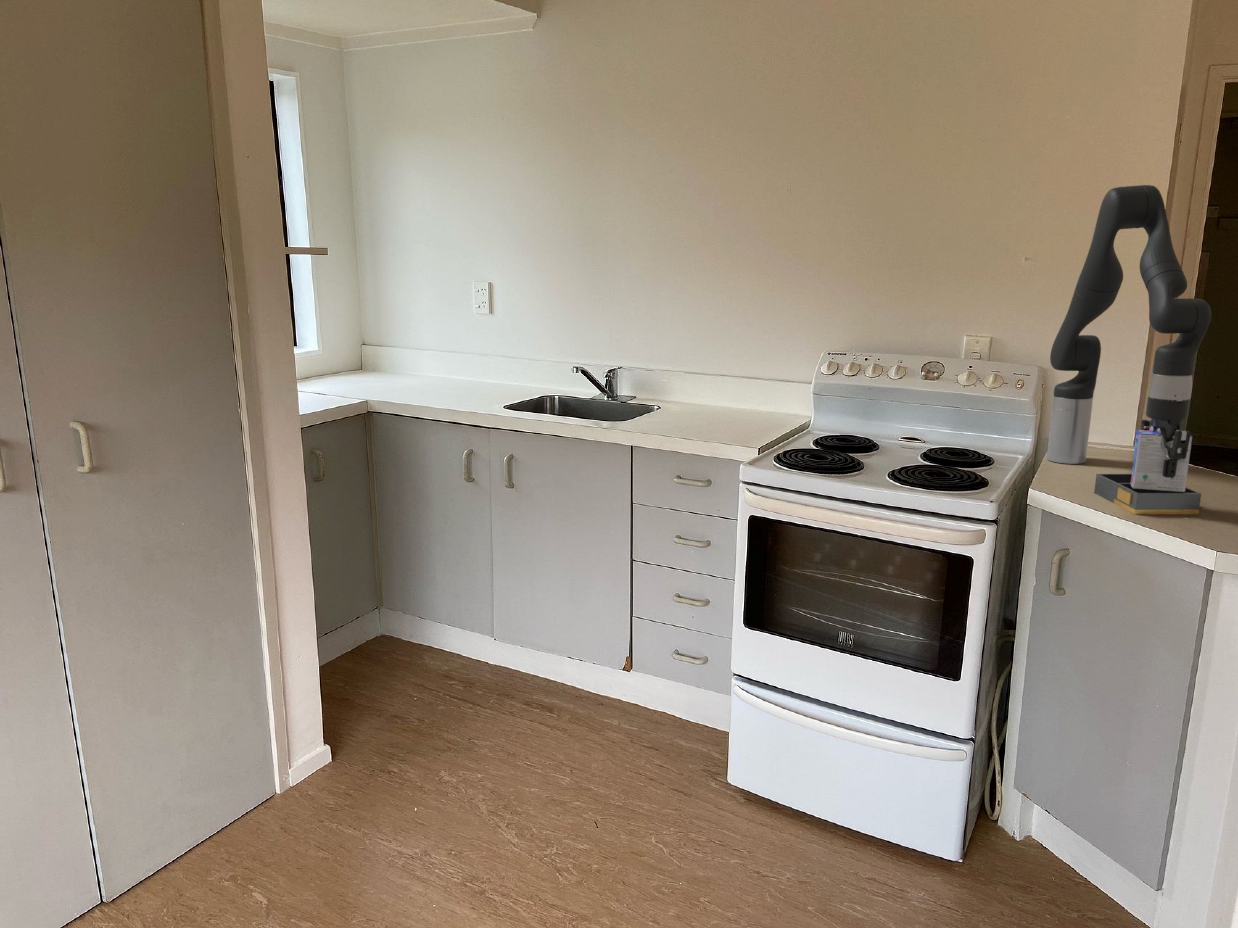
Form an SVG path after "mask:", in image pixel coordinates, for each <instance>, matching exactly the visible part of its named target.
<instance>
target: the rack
mask: <svg viewBox="0 0 1238 928" xmlns="http://www.w3.org/2000/svg"><path fill="white" fill-rule="evenodd" d="M1131 477H1132V473H1096V475H1095V484H1094V491H1093V494H1096V495H1097V496H1099V497H1101V498H1103V499H1105V500H1107V501H1109V502H1111V503H1113V504H1114V505H1117V506H1119V507H1120V508H1122V509H1124V510H1126V511H1127V512H1130V513H1132V514H1133V515H1199V512H1200V504H1201V497H1202V493H1201V492H1199V491H1197V490H1194V489H1192V488H1189V487H1187V486H1186V489H1185V492H1177V491H1162V490H1147V489H1134V488H1132V486H1131V484H1130V483H1131Z"/></svg>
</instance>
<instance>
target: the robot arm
mask: <svg viewBox="0 0 1238 928" xmlns="http://www.w3.org/2000/svg"><path fill="white" fill-rule="evenodd" d="M1141 228H1142V229H1144V230H1145V233H1146V234H1147V237H1148V239H1147V243H1146V245H1145V247H1144V249H1143V251H1142V254H1141V257H1140V260H1139V273H1140V276H1141V278H1142V279H1141V280H1142V281H1143V284H1144V285H1145V289H1146V291H1147V294H1148V319H1149V324H1150V326H1151V327H1152V329H1153V330H1155V332H1158V333H1160V334H1179V335H1178V337H1177V338H1176V340H1175V341H1173V342H1172V343H1168V344H1164V345H1161V346H1159V347H1157V348H1156V350H1155V353H1154V359H1153V366H1152V373H1151V379H1150V382H1149V386H1148V393H1147V401H1146V402H1147V403H1146V409H1145V416H1146V417H1147V418H1149V419H1142V420H1141V422H1140V430H1149V431H1152V432H1153V431H1156V430H1157V433H1158V434H1160V435H1161V442H1160V445H1161V449H1162V450H1164V454H1165V459H1166V460H1164V467H1163V476H1164V477H1166V478H1173V477H1175V474H1176V467H1177V461H1178V460H1180V459H1185V458H1186V455H1187V450H1188V444H1189V439H1190V434H1191V431H1190V430H1183V429H1182V421H1185V420H1187V419H1188V418H1189V413H1190V405H1191V398H1192V390H1193V372H1194V367H1195V366H1194V365H1195V360H1196V359H1195V358H1196V354H1197V352H1198V350H1199V348H1200V345H1201V344H1202V341H1203V339H1204V338H1205V335H1206V332H1207V330H1208V329H1209V325H1210V324H1211V319H1212V310H1211V307H1210V305H1209V303H1208V302H1207V301H1206V300H1204V299H1201V298H1179V297H1180V296H1182V295H1183V294H1184V293H1185V292H1186V290H1187V289H1188V280H1187V277H1186V275H1185V274H1184V271H1183V268H1182V267H1181V264H1180V262H1179V260H1178V257H1177V255H1176V252H1175V248H1174V244H1173V242H1172V235H1171V232H1170V231H1171V230H1170V225H1169V220H1168V215H1167V211H1166V207H1165V201H1164V198H1163V196H1162V194H1161V191H1160V190H1159V188H1158V187H1156V186H1155V185H1153V184H1152V185H1151V184H1140V185H1130V186H1117V187H1114V188H1113V187H1112V188H1110V189H1109V190H1107V193H1106V194H1105V195H1104V196H1103V199H1102V201H1101V205H1100V207H1099V211H1098V215H1097V218H1096V223H1095V227H1094V231H1093V235H1092V239H1091V242H1090V243H1091V244H1090V245H1089V249H1088V251H1087V255H1086V257H1085V258H1086V259H1085V261H1084V263H1083V266H1082V269H1081V271H1080V273H1079V277H1078V280H1077V282H1076V285H1075V288H1074V291H1073V295H1072V298H1071V301H1070V304H1069V306H1068V310H1067V312H1066V314H1065V315H1066V316H1065V317H1064V320H1063V322H1062V324H1061V326H1060V328H1059V331H1058V333H1057V334H1056V336H1055V338H1054V341H1053V343H1052V346H1051V350H1050V357H1049V360H1050V361H1049V362H1050V365H1051V367H1052V368H1053V369H1054V370H1055V371H1056V370H1057V371H1061V372H1062V371H1064V372H1065V371H1066V372H1078V373H1077V374H1076V375H1075V376H1074V377H1072V378H1071V379H1069V380H1066V381H1062V382H1060V383H1057V384H1056V385H1055V386H1054V388H1053V396H1052V404H1051V405H1052V407H1051V415H1050V417H1051V418H1050V424H1049V425H1050V426H1049V434H1048V443H1047V444H1048V445H1047V455H1046V456H1047V457H1046V459H1047V460H1048V461H1050V462H1054V463H1059V464H1070V465H1071V464H1072V465H1074V464H1076V465H1077V464H1084V463H1085V464H1086V462H1087V453H1088V446H1089V436H1090V427H1091V420H1092V419H1091V418H1092V410H1093V409H1092V408H1093V402H1094V401H1093V400H1094V394H1095V388H1096V384H1097V378H1098V371H1099V365H1100V362H1101V354H1102V345H1101V340H1100V338H1099V337H1098V336H1096V335H1092V334H1091V335H1089V334H1085V335H1084V334H1083V335H1082V334H1081V333H1082V331H1083V330H1084V329H1085V328H1086V327H1087V326H1088V325H1089V324H1091V323H1092V322H1093V321H1095V320H1097V318H1098V317H1100V316H1101V315H1102V314H1103V313H1105V312H1106V311H1108V310H1109V308H1110V307H1111V306H1112V305H1113V304H1114V302H1115V300H1116V298H1117V296H1118V294H1119V291H1120V289H1121V287H1122V283H1123V281H1124V272H1123V271H1124V270H1123V267H1122V264H1121V263H1120V260H1119V258H1118V256H1117V253H1116V250H1115V247H1114V245H1115V239H1116V236H1117V234H1118V232H1119V231H1120V230H1129V229H1131V230H1132V229H1141ZM1154 420H1156V424H1157V425H1156V426H1154ZM1191 435H1192V434H1191ZM1170 441H1173V445H1168V444H1167V443H1166V442H1170ZM1179 448H1182V449H1181V453H1180V451H1179ZM1170 449H1172V450H1171V454H1170Z"/></svg>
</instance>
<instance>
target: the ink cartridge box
mask: <svg viewBox="0 0 1238 928" xmlns="http://www.w3.org/2000/svg"><path fill="white" fill-rule="evenodd" d="M1156 425H1157V424H1156V420H1154V426H1156ZM1134 440H1135V441H1134V450H1133V459H1132V460H1133V462H1132V471H1131V474H1132V477H1131V483H1130V484H1131V486H1132V488H1134V489H1147V490H1162V491H1177V492H1185V489H1186V487H1187V482H1188V481H1187V480H1188V473H1189V465H1190V458H1191V457H1190V456H1191V449H1192V442H1193V435H1192V434H1190V439H1189V444H1188V450H1187V455H1186V458H1185V459H1180V460H1178V461H1177V467H1176V474H1175V477H1173V478H1166V477H1164V476H1163V467H1164V460H1166V459H1165V454H1164V450H1162V449H1161V445H1160V442H1161V435H1160V434H1158V433H1157V430H1156V431H1153V432H1152V431H1149V430H1141V429H1136V430H1135V439H1134ZM1166 443H1167V444H1168V445H1173V441H1170V442H1166ZM1181 449H1182V448H1179V451H1180V453H1181ZM1171 450H1172V449H1170V454H1171Z"/></svg>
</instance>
